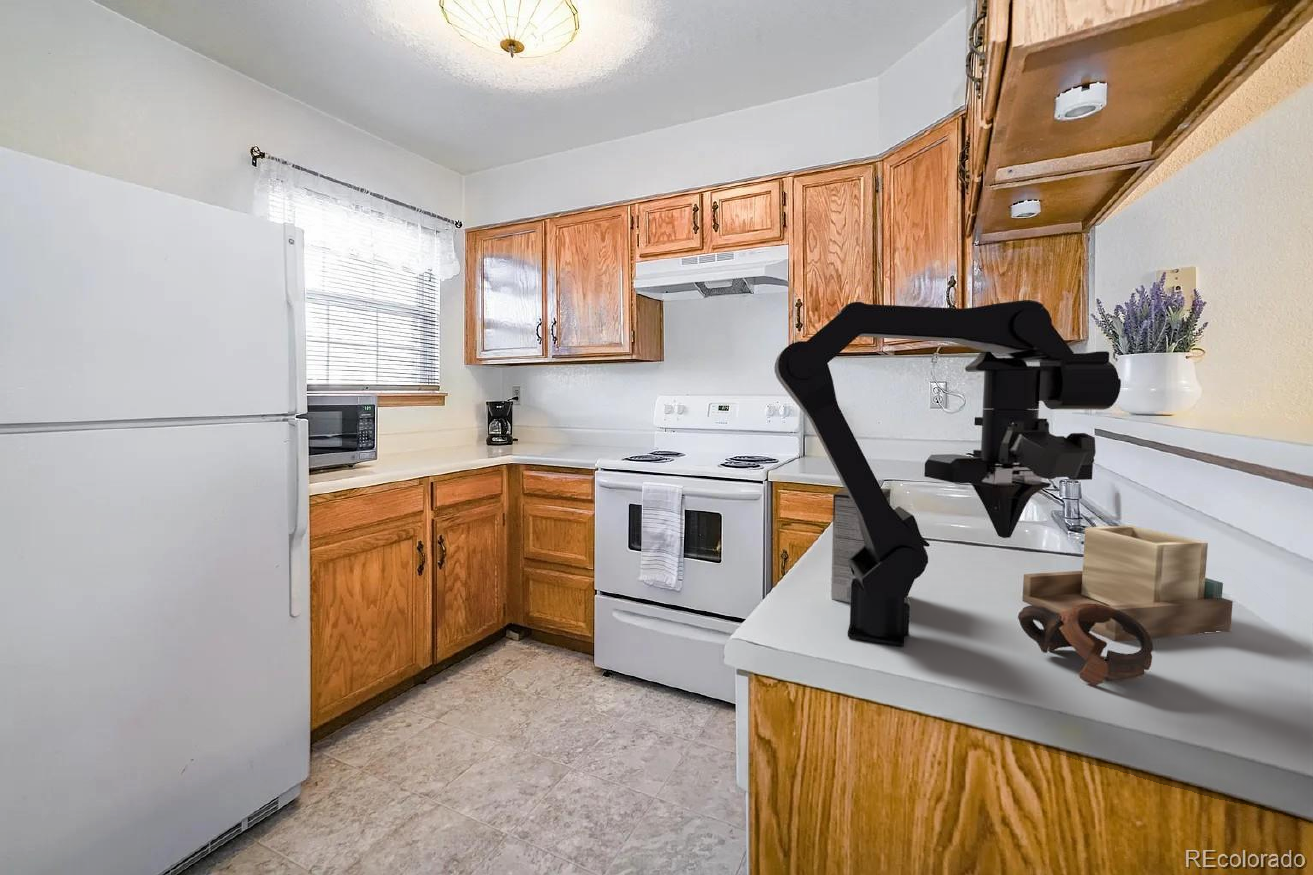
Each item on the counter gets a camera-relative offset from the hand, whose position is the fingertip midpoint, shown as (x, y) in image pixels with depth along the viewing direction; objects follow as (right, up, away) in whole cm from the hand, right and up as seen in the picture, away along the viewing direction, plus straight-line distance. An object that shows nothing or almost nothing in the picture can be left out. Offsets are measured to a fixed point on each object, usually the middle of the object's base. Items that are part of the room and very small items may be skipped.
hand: (1004, 537), depth 68 cm
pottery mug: (+5, -14, -6) cm, 16 cm away
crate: (+25, -11, +10) cm, 29 cm away
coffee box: (-11, -12, +17) cm, 24 cm away
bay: (+21, -13, +9) cm, 26 cm away
